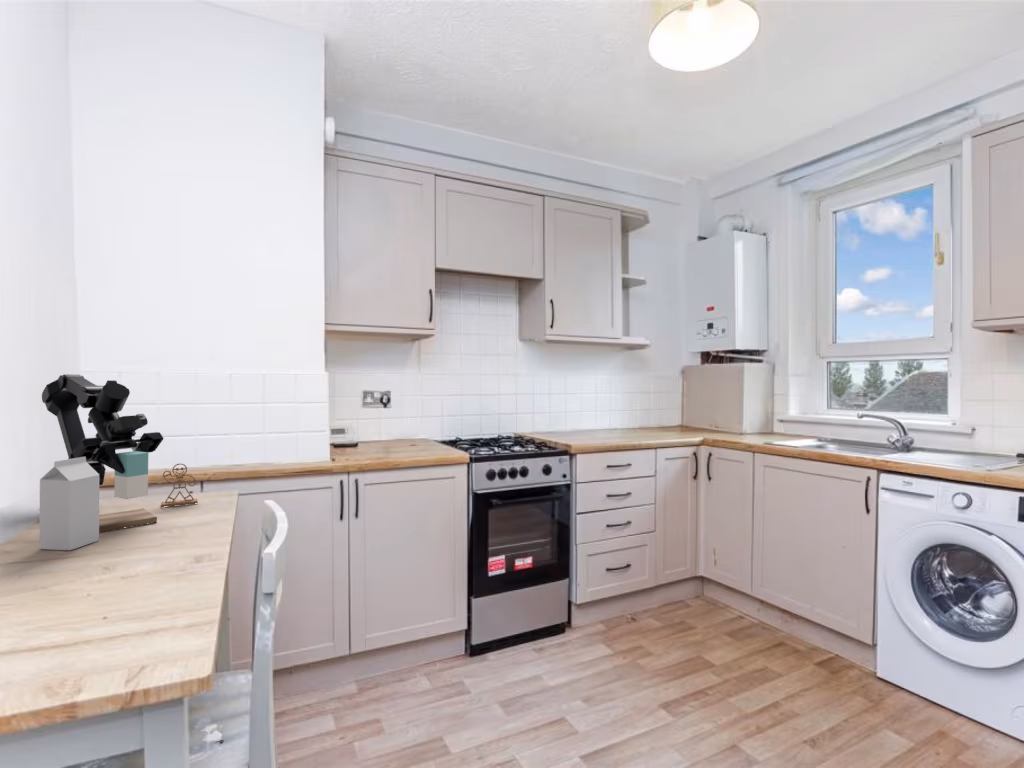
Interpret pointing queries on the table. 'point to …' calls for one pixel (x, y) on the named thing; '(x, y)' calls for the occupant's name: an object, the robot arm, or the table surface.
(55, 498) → the milk carton
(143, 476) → the block
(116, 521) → the board
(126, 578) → the table surface
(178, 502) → the gingerbread man figurine
